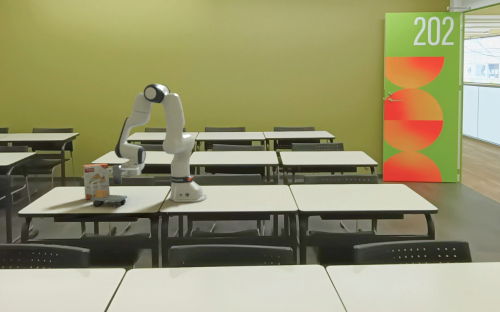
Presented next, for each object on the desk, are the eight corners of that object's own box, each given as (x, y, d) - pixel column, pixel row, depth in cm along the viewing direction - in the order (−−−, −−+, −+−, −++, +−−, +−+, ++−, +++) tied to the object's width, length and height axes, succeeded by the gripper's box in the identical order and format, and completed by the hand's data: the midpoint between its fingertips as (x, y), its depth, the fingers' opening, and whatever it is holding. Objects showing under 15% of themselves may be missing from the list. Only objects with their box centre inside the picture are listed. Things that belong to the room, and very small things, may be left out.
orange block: (107, 195, 279) (107, 189, 278) (103, 197, 274) (102, 192, 274) (99, 195, 280) (99, 189, 280) (95, 197, 275) (94, 191, 275)
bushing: (123, 182, 275) (122, 165, 273) (119, 184, 271) (118, 167, 269) (115, 182, 276) (114, 165, 274) (111, 183, 272) (110, 166, 270)
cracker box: (86, 200, 288) (84, 166, 285) (85, 198, 293) (82, 164, 290) (110, 197, 295) (108, 164, 291) (108, 195, 300) (106, 162, 296)
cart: (127, 203, 279) (126, 179, 277) (120, 207, 271) (118, 183, 268) (99, 202, 283) (98, 178, 281) (91, 206, 275) (89, 182, 272)
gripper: (111, 163, 287) (99, 168, 273) (142, 164, 282) (132, 169, 269) (112, 173, 288) (100, 178, 274) (143, 174, 283) (132, 180, 270)
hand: (116, 174), depth 272 cm, fingers closed on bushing, 5 cm apart
